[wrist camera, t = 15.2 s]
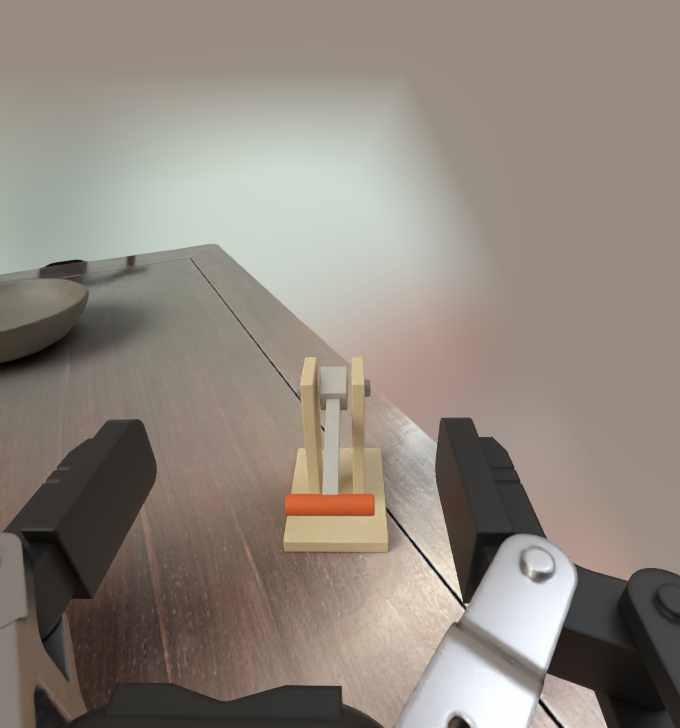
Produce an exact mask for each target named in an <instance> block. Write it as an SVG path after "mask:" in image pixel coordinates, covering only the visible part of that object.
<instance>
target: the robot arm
mask: <svg viewBox="0 0 680 728" xmlns="http://www.w3.org/2000/svg"><path fill="white" fill-rule="evenodd" d="M435 471H436V482H437V487H438V492H439V496H440V501H441V505H442V510H443V514H444V519H445V523H446V528H447V532H448V536H449V541H450V545H451V550H452V554H453V559H454V563H455V568H456V572H457V577H458V581H459V585H460V590H461V594H462V599H463V603H464V604H469V605H468V607H467V608H466V610H465V612H464V614H463V616H462V617H461V619H460V620H459V622H458V623H456V622H454V623H453V624H452V625H451V626H450V627H449V629H448V630H447V632H446V633H445V635H444V637H443V639H442V640H441V642H440V644H439V646H438V648H437V649H436V651H435V653H434V655H433V656H432V658H431V660H430V662H429V664H428V665H427V667H426V669H425V671H424V673H423V674H422V676H421V678H420V680H419V681H418V683H417V685H416V687H415V689H414V690H413V692H412V694H411V696H410V698H409V699H408V701H407V703H406V705H405V706H404V708H403V710H402V712H401V714H400V715H399V717H398V719H397V721H396V723H395V724H394V726H393V728H529V727H530V724H531V721H532V718H533V716H534V713H535V710H536V707H537V704H538V701H539V698H540V695H541V692H542V689H543V685H544V679H545V676H546V673H548V674H550V675H553V676H556V677H559V678H561V679H564V680H567V681H569V682H572V683H575V684H578V685H580V686H583V687H586V688H589V689H591V690H594V691H595V694H596V697H597V700H598V702H599V705H600V708H601V711H602V713H603V716H604V719H605V722H606V724H607V727H608V728H680V576H679V575H677V574H674V573H672V572H669V571H666V570H662V569H656V568H646V569H641V570H638V571H636V572H635V573H634V574H632V576H631V577H630V579H629V581H626V580H622V579H619V578H615V577H611V576H608V575H604V574H601V573H597V572H593V571H591V570H588V569H585V568H582V567H580V566H578V565H576V564H574V563H573V562H572V560H571V559H570V557H569V556H568V555H567V554H566V553H565V552H564V551H563V550H562V549H561V548H560V547H559V546H557V545H556V544H555V543H553V542H551V541H549V540H548V539H547V537H546V536H545V534H544V531H543V529H542V527H541V525H540V523H539V520H538V518H537V516H536V514H535V512H534V509H533V507H532V505H531V503H530V501H529V498H528V496H527V494H526V492H525V490H524V487H523V485H522V484H521V483H520V479H519V476H518V474H517V472H516V471H515V470H514V465H513V464H512V461H511V459H510V457H509V454H508V452H507V451H506V450H505V449H504V448H503V447H502V446H501V445H500V444H499V443H498V442H497V441H496V440H495V439H494V438H493V437H478V434H477V431H476V429H475V426H474V423H473V421H472V419H471V418H441V420H440V426H439V435H438V444H437V453H436V464H435ZM156 473H157V465H156V460H155V457H154V454H153V451H152V448H151V445H150V442H149V439H148V436H147V433H146V430H145V427H144V425H143V423H142V422H141V421H140V420H138V419H133V420H108V421H107V422H106V423H105V424H104V425H103V426H102V428H101V429H100V430H99V431H98V433H97V434H96V435H95V436H94V438H93V439H87V440H86V441H85V442H83V443H82V444H80V445H79V446H78V447H76V448H75V449H73V450H72V451H70V452H69V453H68V455H67V456H66V457H65V458H64V459H63V461H62V462H61V463H60V464H59V465H58V467H57V470H56V471H53V473H52V474H51V475H50V476H49V477H48V479H47V480H46V484H43V485H42V486H41V487H40V488H39V489H38V491H37V492H36V493H35V494H34V495H33V497H32V498H31V499H30V500H29V501H28V502H27V504H26V505H25V506H24V507H23V508H22V510H21V511H20V512H19V513H18V514H17V516H16V517H15V518H14V519H13V520H12V522H11V523H10V524H9V525H8V526H7V528H6V529H5V530H4V531H3V532H2V533H0V728H384V727H383V726H382V725H381V724H380V723H378V722H377V721H375V720H374V719H373V718H371V717H370V716H369V715H367V714H365V713H363V712H361V711H359V710H357V709H356V708H353V707H350V706H348V705H345V704H343V702H342V686H304V685H285V686H281V687H278V688H274V689H271V690H267V691H264V692H260V693H256V694H253V695H249V696H246V697H242V698H239V699H235V700H232V701H227V702H226V701H219V700H216V699H213V698H210V697H208V696H205V695H202V694H200V693H197V692H194V691H191V690H189V689H186V688H183V687H180V686H178V685H175V684H172V683H117V685H116V688H115V690H114V692H113V695H112V697H111V700H110V702H109V703H106V704H104V705H102V706H99V707H97V708H94V709H92V710H90V711H87V708H86V706H85V704H84V701H83V699H82V696H81V692H80V688H79V682H78V676H77V670H76V664H75V658H74V652H73V645H72V639H71V633H70V627H69V621H68V617H67V614H66V613H65V609H66V607H67V605H68V604H69V602H70V600H71V599H93V597H94V595H95V593H96V591H97V589H98V587H99V586H100V584H101V582H102V580H103V578H104V576H105V574H106V573H107V571H108V569H109V567H110V565H111V563H112V561H113V559H114V558H115V556H116V554H117V552H118V550H119V548H120V546H121V545H122V543H123V541H124V539H125V537H126V535H127V533H128V532H129V530H130V528H131V526H132V524H133V522H134V520H135V519H136V517H137V515H138V513H139V511H140V509H141V507H142V505H143V504H144V502H145V500H146V498H147V496H148V494H149V492H150V491H151V489H152V487H153V485H154V482H155V479H156Z"/></svg>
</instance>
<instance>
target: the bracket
mask: <svg viewBox="0 0 680 728" xmlns="http://www.w3.org/2000/svg"><path fill="white" fill-rule="evenodd" d="M297 395H298V397H301V404H302V416H303V427H304V439H305V448H299V449H298V454H297V460H296V466H295V473H294V479H293V485H292V491H291V494H322V485H323V463H324V448H322V437H321V421H320V404H319V387H318V370H317V358H316V357H305V362H304V367H303V372H302V377H301V380H298V382H297ZM369 396H370V380H364V359H363V357H352V448H340V454H339V494H374V500H375V515H374V516H287V522H286V528H285V534H284V540H283V544H284V551H287V552H388V546H389V541H388V529H387V517H386V505H385V493H384V481H383V469H382V457H381V448H364V416H365V397H369Z"/></svg>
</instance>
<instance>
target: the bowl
mask: <svg viewBox="0 0 680 728" xmlns="http://www.w3.org/2000/svg"><path fill="white" fill-rule="evenodd" d="M88 296H89V291H88V288H87V287H86V286H84V285H81V284H79V283H76V282H73V281H69V280H65V279H52V278H42V279H23V280H14V281H6V282H0V363H2V362H8V361H12V360H16V359H20V358H23V357H26V356H28V355H31V354H34V353H36V352H39V351H41V350H42V349H44V348H46V347H48V346H49V345H51V344H53V343H55V342H57V341H58V340H60V339H61V338H63V337H64V336H65V335H66V334H67V333H68V332H69V331H70V330H71V329H72V327H73V326H74V325H75V323H76V322H77V320H78V319H79V317H80V316H81V314H82V312H83V311H84V309H85V306H86V304H87V301H88Z"/></svg>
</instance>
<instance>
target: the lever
mask: <svg viewBox="0 0 680 728" xmlns="http://www.w3.org/2000/svg"><path fill="white" fill-rule="evenodd" d="M319 396H320V405H321V410H326V419H325V441H324V463H323V485H322V494H287V495H286V499H285V514H286V516H374V515H375V500H374V494H339V454H340V410H347V367H321V370H320V386H319Z"/></svg>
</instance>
